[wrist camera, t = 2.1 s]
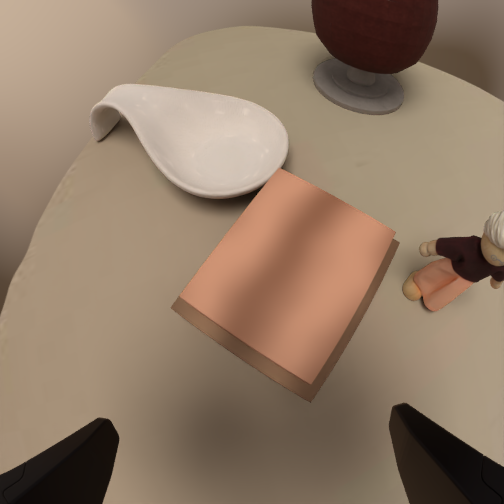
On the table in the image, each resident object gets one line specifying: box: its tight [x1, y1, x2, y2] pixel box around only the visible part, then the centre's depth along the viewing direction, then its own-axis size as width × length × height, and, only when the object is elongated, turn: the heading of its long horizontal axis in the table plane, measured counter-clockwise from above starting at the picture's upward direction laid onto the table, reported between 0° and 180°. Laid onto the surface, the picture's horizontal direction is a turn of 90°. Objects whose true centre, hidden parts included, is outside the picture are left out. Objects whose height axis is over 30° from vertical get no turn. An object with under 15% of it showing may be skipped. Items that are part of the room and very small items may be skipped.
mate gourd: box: [312, 0, 438, 115], centre depth 25 cm, size 16×14×20 cm
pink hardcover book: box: [171, 168, 399, 403], centre depth 22 cm, size 12×14×5 cm
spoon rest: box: [90, 84, 289, 199], centre depth 27 cm, size 24×12×7 cm, turn 64°
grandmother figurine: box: [403, 210, 504, 311], centre depth 17 cm, size 8×4×13 cm, turn 77°
